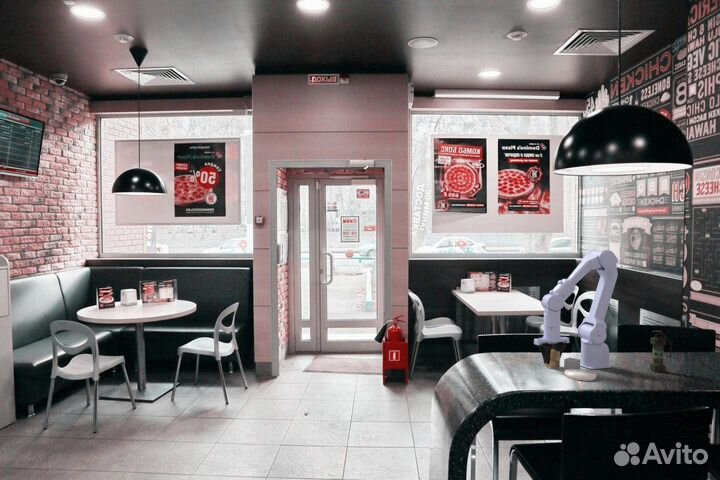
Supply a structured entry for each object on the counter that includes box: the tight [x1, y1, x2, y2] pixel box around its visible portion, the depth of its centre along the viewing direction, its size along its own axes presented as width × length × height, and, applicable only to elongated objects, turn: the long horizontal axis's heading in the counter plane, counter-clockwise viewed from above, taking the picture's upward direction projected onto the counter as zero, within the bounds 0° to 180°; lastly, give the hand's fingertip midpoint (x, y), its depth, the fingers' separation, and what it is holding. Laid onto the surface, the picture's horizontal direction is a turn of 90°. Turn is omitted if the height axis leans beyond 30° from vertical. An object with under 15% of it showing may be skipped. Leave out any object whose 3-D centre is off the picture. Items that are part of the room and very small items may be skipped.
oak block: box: [543, 348, 561, 369], centre depth 178 cm, size 4×4×6 cm
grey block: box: [563, 357, 581, 371], centre depth 174 cm, size 4×4×4 cm
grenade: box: [649, 329, 672, 373], centre depth 173 cm, size 6×6×15 cm
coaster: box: [563, 368, 597, 382], centre depth 165 cm, size 10×10×2 cm
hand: (551, 362), depth 178 cm, fingers closed on oak block, 4 cm apart
